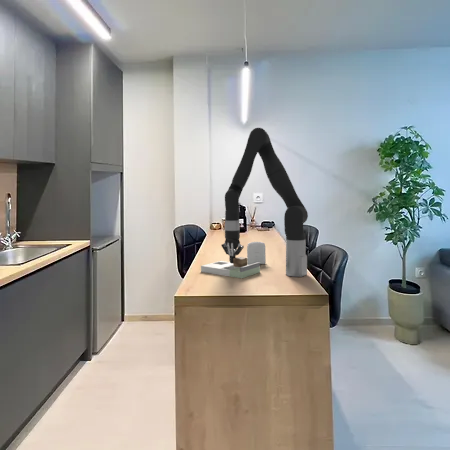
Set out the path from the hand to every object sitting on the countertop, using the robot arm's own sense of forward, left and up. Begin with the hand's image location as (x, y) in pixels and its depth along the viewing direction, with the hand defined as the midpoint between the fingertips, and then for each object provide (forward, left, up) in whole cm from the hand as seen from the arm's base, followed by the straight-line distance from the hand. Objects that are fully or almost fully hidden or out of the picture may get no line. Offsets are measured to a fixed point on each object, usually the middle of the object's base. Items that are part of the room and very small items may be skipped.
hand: (232, 263), depth 192 cm
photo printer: (0, -22, -4) cm, 22 cm away
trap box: (-1, +3, -4) cm, 5 cm away
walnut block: (-5, 0, -1) cm, 5 cm away
